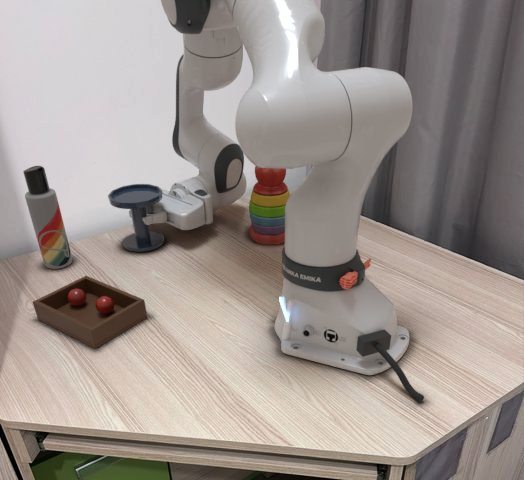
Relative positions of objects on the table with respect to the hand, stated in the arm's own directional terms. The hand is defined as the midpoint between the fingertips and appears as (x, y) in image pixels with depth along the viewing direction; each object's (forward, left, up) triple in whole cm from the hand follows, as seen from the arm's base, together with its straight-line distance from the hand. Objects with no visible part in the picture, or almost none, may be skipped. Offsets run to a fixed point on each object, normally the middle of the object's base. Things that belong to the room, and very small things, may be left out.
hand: (137, 218), depth 116 cm
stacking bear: (-21, -20, -6) cm, 30 cm away
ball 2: (-17, +24, -4) cm, 30 cm away
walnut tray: (-15, +26, -6) cm, 31 cm away
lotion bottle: (+8, +16, -6) cm, 19 cm away
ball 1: (-10, +25, -4) cm, 28 cm away
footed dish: (0, -1, -6) cm, 6 cm away
